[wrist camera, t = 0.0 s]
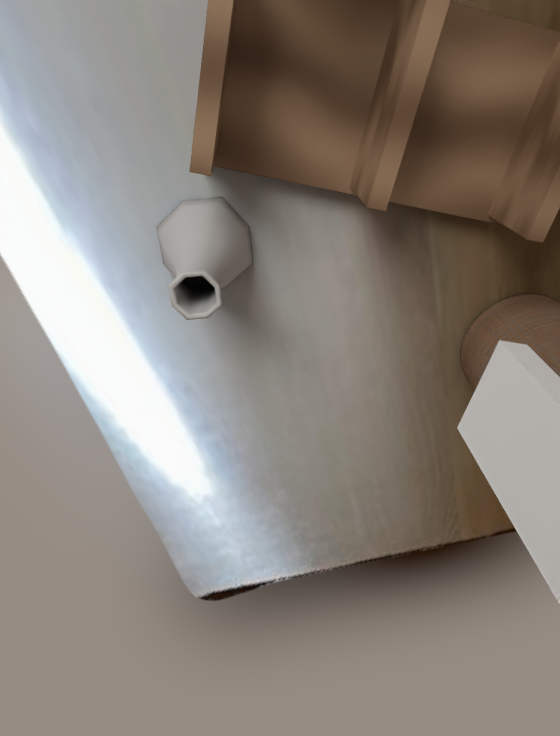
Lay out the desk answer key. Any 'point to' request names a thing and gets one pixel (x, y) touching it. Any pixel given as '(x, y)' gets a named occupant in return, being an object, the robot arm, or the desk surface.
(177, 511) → the desk surface
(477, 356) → the vase
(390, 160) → the rack
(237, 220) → the flask
